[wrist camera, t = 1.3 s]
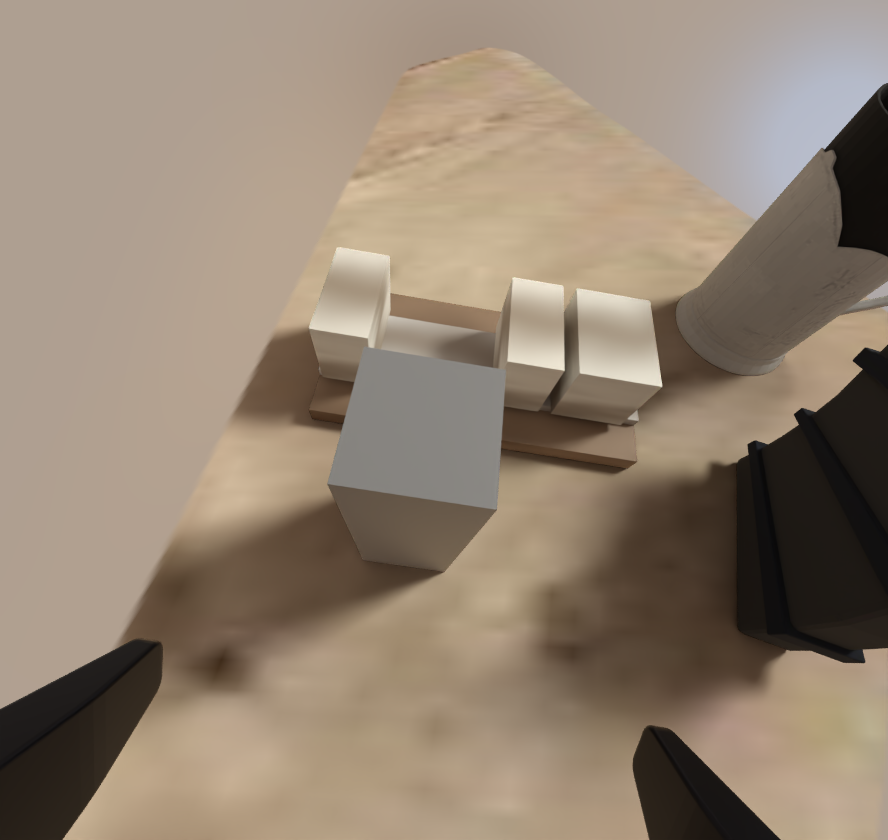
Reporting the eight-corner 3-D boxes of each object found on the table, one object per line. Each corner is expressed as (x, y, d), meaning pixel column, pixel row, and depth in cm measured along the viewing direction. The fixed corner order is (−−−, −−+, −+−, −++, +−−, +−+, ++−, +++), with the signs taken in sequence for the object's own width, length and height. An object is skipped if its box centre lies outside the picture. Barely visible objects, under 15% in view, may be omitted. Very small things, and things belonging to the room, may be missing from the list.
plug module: (444, 571, 22) (496, 509, 11) (362, 560, 22) (327, 483, 11) (453, 491, 24) (506, 366, 13) (379, 479, 24) (364, 342, 13)
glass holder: (672, 277, 35) (844, 59, 21) (836, 315, 35) (1110, 119, 21) (679, 361, 31) (897, 154, 17) (865, 403, 31) (1225, 229, 17)
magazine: (753, 702, 19) (1159, 493, 10) (689, 502, 30) (864, 312, 21) (833, 732, 19) (1320, 545, 10) (740, 520, 30) (939, 336, 21)
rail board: (627, 468, 26) (690, 424, 21) (312, 418, 25) (288, 359, 20) (616, 343, 31) (665, 279, 25) (349, 298, 30) (338, 222, 24)
